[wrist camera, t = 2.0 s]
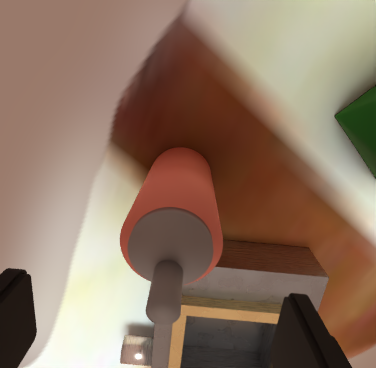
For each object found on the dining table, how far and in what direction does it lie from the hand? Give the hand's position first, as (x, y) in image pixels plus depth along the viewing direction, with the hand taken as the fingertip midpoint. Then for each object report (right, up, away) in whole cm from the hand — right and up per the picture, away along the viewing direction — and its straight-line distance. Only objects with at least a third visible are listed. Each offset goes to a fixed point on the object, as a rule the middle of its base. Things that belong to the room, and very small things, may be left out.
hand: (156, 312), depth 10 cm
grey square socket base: (+3, -8, +17) cm, 19 cm away
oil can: (+1, +5, +13) cm, 14 cm away
